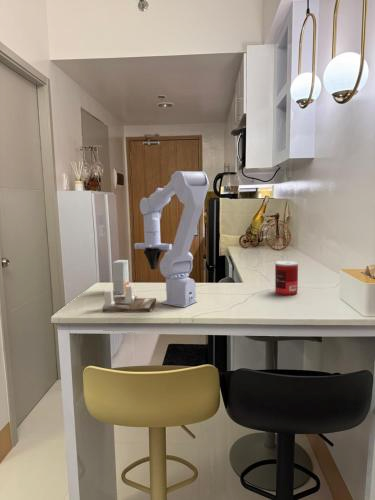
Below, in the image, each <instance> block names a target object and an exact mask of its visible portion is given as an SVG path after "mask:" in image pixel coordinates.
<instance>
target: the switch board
mask: <svg viewBox="0 0 375 500" xmlns="http://www.w3.org/2000/svg"><path fill="white" fill-rule="evenodd" d="M134 296H135V295H134ZM125 298H126V295H125V296H124V295H123V296H119V295H118V296H114V295H113V300H114V302H115V304H114V306H104V305H102V313H150V312H151V311H152V309H153V307H154V306H155V304H156V302H157V298H155V297H153V298H152V297H149V298H148V297H147V298H146V297H143V298H138V296H135V299H134V300H125Z"/></svg>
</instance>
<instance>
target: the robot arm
mask: <svg viewBox="0 0 375 500" xmlns="http://www.w3.org/2000/svg"><path fill="white" fill-rule="evenodd" d="M207 175H208V174H207V173H206V172H204V171H202V170H201V171H187V170H186V171H183V170H176V171H175V172H174V173H172V174H171V177H170V181H169V182H168V183H167V184H166V186H164V187H163V188H162V187H157V188H156V189H155V191H154V192H153V193H151V194H150V195H149V196H148V197H147V198H146V197H142V198H141V200H140V201H139V202H140V203H139V211H140V212H141V214H142V215H143V216H142V217H143V232H144V233H143V234H144V242H136V243H134V244H133V245H134V246H133V247H134V250H137V249H138V250H143V254H144V255H145V257H146V259H147V261H148V264H149V267H150V270H156V269H157V268H158V263H159V271H160V274H161V275H162V276H163V277H164V278H165V289H166V291H165V292H166V293H165V294H166V300H163V301H161V302H160V303H161V304H162V305H163V304H164V305H168V306H174V307H180V308H186V307H188V306H191V305H192V304H195V303H196V302H198V300H197V298H196V297H197V295H196V281H195V279H193V278H190V277H189V276H190V273H191V272H192V270H193V267H194V266H193V260H194V257H193V254H192V253H191V252H190V249H191V246H192V243H193V241H194V240H193V239H194V237H195V234H196V231H197V227H198V224H199V222H200V219H201V215H202V211H203V209H204V206H205V204H204V203H205V201H206V198H207V193H208V189H209V187H210V183H209V178H208V176H207ZM174 195H176V196H177V199H178V200H179V202H180V203H182V204H183V205H184V207H183V209H182V214H181V217H180V221H179V224H178V227H177V231H176V234H175V238H174V242H173V244H172V243H163V242H161V222H160V221H161V218H162V212H163V208H164V207H165V206H167V204H169V203H170V202H171V199H172V198H171V197H173V196H174ZM163 250H165V251H166V250H167V251H166V252H165V253H164V255H163V257H162V258H161V260H160V256H161V254H162V252H163ZM159 260H160V262H159Z"/></svg>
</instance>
